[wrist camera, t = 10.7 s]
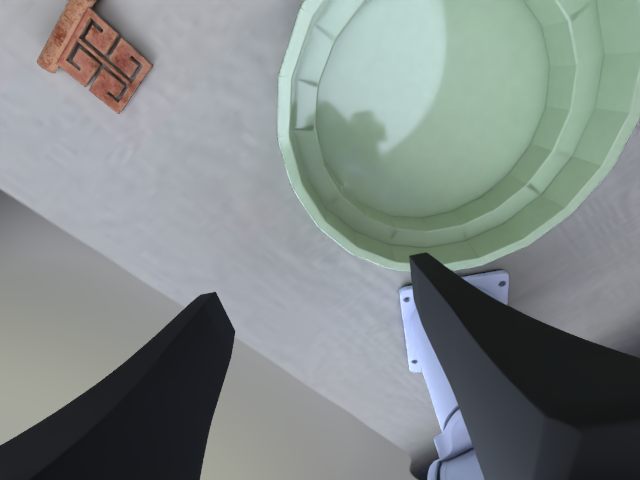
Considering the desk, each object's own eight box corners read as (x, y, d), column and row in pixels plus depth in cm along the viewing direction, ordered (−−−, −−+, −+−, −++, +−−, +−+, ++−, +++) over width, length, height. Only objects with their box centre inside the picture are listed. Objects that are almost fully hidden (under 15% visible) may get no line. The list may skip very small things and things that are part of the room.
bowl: (557, 211, 21) (611, 243, 17) (322, 255, 23) (321, 293, 19) (604, -128, 13) (723, -214, 9) (249, -19, 15) (223, -52, 11)
